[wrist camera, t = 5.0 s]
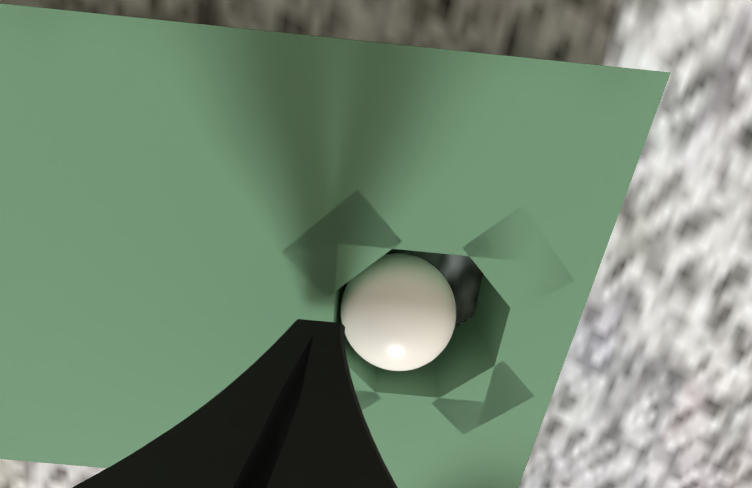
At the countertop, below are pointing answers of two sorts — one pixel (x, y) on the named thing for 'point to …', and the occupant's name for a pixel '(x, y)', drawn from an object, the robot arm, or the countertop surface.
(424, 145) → the block
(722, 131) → the countertop surface
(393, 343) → the ball
